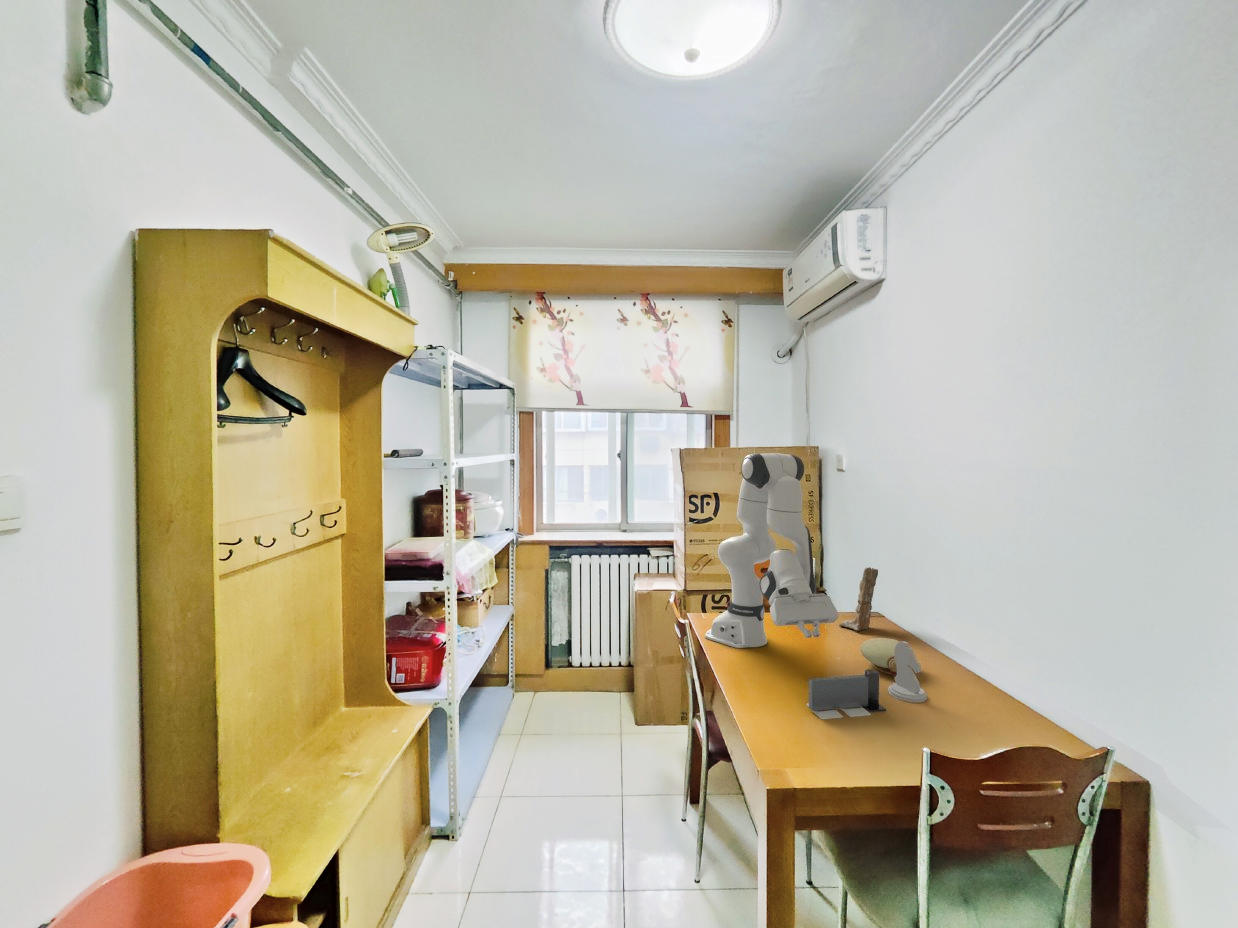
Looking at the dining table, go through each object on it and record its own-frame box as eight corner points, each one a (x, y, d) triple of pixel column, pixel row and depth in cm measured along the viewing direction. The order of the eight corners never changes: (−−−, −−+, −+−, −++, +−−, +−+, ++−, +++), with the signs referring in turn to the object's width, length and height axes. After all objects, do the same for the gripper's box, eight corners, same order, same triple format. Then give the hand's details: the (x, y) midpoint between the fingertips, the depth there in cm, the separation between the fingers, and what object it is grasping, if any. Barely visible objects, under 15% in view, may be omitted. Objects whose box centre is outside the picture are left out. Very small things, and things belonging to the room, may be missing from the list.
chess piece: (909, 705, 148) (910, 651, 147) (880, 690, 157) (881, 639, 156) (935, 698, 151) (935, 646, 151) (904, 684, 160) (905, 635, 160)
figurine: (847, 625, 218) (853, 563, 220) (873, 631, 211) (879, 568, 213) (834, 626, 210) (840, 562, 212) (860, 633, 203) (867, 567, 205)
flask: (906, 660, 178) (925, 687, 160) (855, 657, 181) (868, 682, 163) (907, 633, 177) (926, 656, 160) (855, 630, 180) (869, 652, 163)
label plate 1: (826, 703, 149) (826, 701, 149) (842, 717, 141) (842, 715, 141) (806, 704, 148) (806, 703, 148) (821, 719, 140) (821, 717, 140)
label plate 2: (853, 701, 150) (853, 699, 150) (870, 715, 142) (870, 713, 142) (833, 702, 149) (833, 701, 149) (849, 716, 141) (849, 715, 141)
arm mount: (874, 701, 149) (874, 700, 149) (885, 710, 144) (885, 708, 144) (857, 703, 149) (857, 701, 149) (868, 712, 144) (868, 710, 144)
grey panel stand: (873, 701, 149) (873, 669, 148) (881, 707, 145) (882, 674, 145) (806, 706, 145) (807, 674, 145) (813, 713, 142) (814, 679, 142)
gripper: (824, 598, 171) (841, 639, 162) (763, 601, 168) (777, 643, 158) (831, 587, 166) (850, 629, 157) (769, 590, 163) (784, 633, 154)
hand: (813, 636), depth 158 cm, fingers closed
